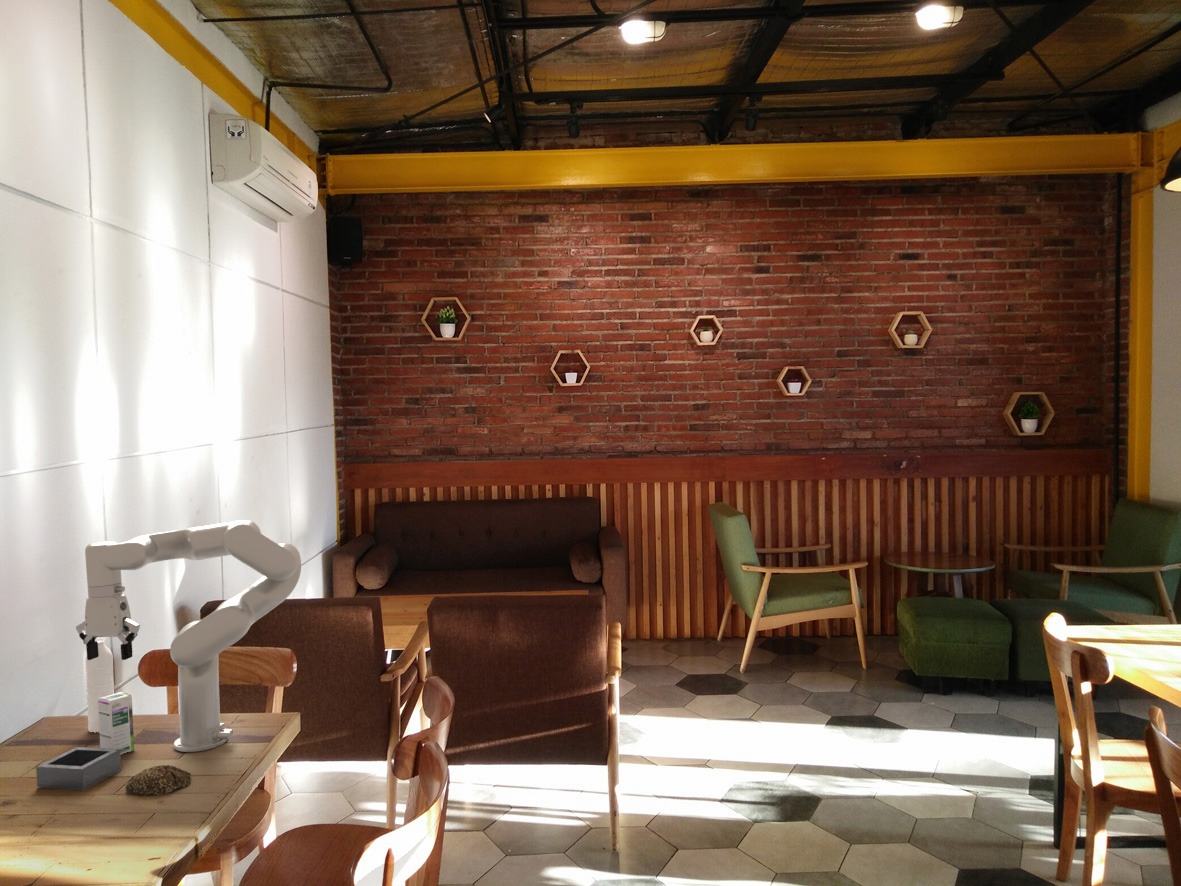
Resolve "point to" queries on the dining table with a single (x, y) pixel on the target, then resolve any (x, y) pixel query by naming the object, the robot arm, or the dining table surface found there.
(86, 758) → the socket
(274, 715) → the dining table surface
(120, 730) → the syrup box
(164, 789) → the bread roll
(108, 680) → the water bottle
